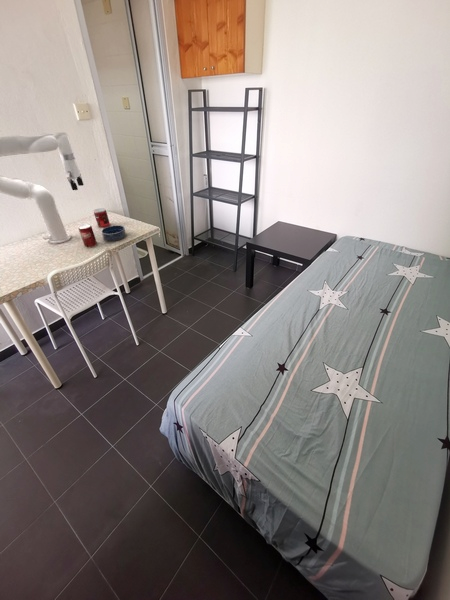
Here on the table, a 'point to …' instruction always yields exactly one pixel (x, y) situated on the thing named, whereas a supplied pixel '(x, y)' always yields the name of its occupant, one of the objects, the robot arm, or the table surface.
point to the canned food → (101, 217)
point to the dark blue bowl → (113, 233)
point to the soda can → (87, 235)
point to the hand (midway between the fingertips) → (78, 187)
